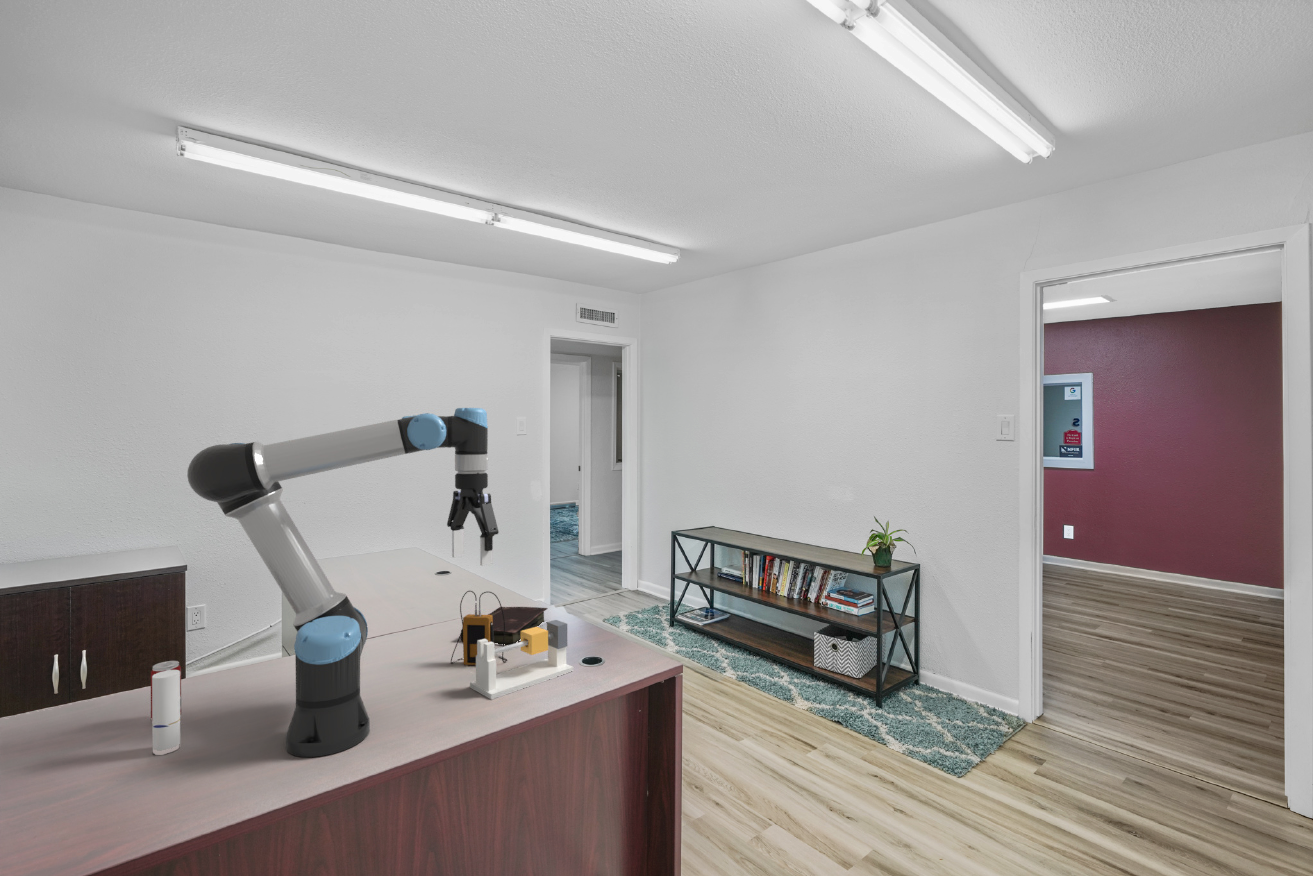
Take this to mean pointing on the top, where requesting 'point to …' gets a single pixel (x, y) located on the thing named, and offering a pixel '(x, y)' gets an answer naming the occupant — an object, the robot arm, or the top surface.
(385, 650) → the top surface
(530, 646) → the cube with square hole
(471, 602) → the top surface
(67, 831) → the top surface
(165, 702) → the tube
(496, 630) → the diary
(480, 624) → the multimeter
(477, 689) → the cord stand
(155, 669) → the soda can
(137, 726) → the top surface
